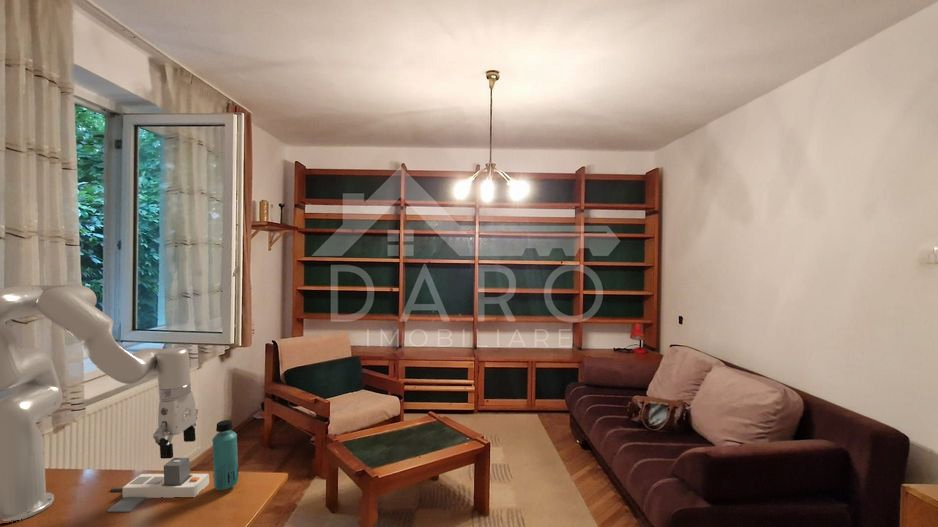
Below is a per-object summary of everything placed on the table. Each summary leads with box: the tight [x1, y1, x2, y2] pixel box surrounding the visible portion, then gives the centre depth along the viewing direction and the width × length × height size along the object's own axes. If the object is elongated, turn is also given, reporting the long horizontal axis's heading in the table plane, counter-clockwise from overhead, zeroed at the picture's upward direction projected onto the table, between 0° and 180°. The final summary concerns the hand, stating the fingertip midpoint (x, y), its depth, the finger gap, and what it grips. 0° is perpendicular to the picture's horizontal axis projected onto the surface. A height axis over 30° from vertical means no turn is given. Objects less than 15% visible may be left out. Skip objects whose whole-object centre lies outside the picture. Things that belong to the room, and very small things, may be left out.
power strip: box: [110, 473, 210, 499], centre depth 122 cm, size 26×7×4 cm, turn 91°
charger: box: [163, 457, 191, 486], centre depth 122 cm, size 4×4×7 cm
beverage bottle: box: [211, 419, 240, 491], centre depth 123 cm, size 6×7×20 cm
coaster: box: [106, 497, 147, 513], centre depth 115 cm, size 6×6×1 cm
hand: (178, 449), depth 122 cm, fingers open, 9 cm apart
